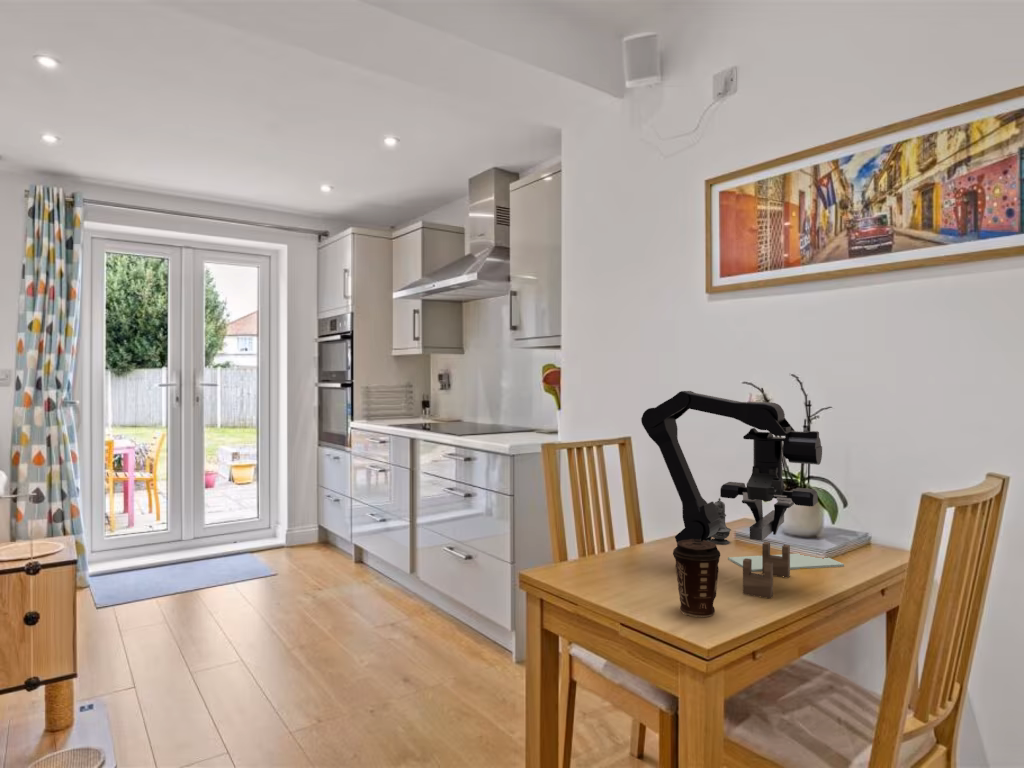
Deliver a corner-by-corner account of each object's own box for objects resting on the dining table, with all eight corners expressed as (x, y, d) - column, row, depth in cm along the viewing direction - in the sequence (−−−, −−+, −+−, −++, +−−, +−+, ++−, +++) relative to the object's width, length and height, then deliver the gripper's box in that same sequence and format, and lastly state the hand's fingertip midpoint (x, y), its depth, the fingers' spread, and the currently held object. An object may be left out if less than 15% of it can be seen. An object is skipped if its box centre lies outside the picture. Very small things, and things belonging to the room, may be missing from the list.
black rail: (762, 540, 126) (762, 528, 126) (749, 539, 127) (749, 527, 127) (784, 521, 142) (784, 511, 142) (772, 520, 143) (772, 510, 143)
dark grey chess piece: (727, 539, 172) (727, 496, 172) (733, 545, 166) (733, 500, 166) (706, 539, 173) (706, 495, 172) (710, 544, 167) (710, 499, 167)
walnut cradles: (770, 598, 126) (770, 565, 126) (742, 593, 129) (742, 560, 129) (789, 575, 140) (789, 545, 140) (764, 571, 144) (764, 541, 143)
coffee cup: (698, 600, 125) (698, 535, 125) (730, 614, 118) (730, 545, 117) (664, 608, 121) (664, 541, 121) (696, 623, 113) (696, 551, 113)
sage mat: (750, 571, 143) (750, 569, 143) (728, 559, 153) (728, 557, 153) (844, 566, 147) (844, 564, 147) (816, 554, 157) (816, 552, 157)
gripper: (712, 462, 133) (712, 535, 133) (807, 468, 122) (808, 548, 122) (727, 456, 142) (728, 525, 142) (817, 462, 131) (818, 536, 132)
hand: (767, 533), depth 134 cm, fingers closed on black rail, 2 cm apart
